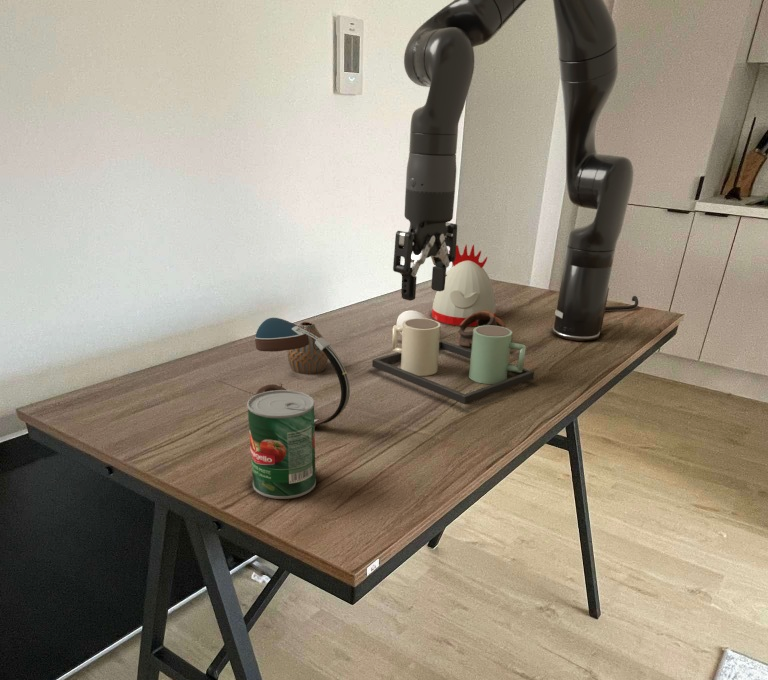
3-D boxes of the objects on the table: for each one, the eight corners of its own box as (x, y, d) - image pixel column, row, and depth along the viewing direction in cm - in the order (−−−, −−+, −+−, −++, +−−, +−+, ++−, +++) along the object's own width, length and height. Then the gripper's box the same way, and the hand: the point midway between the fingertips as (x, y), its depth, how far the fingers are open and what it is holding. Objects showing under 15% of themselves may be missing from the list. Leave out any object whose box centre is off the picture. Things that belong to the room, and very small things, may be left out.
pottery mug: (515, 361, 132) (500, 325, 127) (468, 377, 135) (451, 344, 130) (512, 326, 140) (498, 291, 135) (468, 343, 144) (452, 310, 139)
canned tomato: (240, 491, 87) (233, 408, 81) (271, 464, 93) (267, 385, 87) (298, 504, 84) (295, 420, 79) (326, 476, 91) (325, 396, 85)
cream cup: (444, 369, 123) (448, 323, 119) (423, 378, 118) (426, 331, 114) (402, 357, 127) (404, 312, 123) (381, 366, 123) (382, 320, 119)
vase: (335, 371, 123) (335, 321, 119) (316, 383, 118) (314, 332, 113) (301, 364, 126) (299, 315, 121) (280, 376, 120) (278, 325, 116)
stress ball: (429, 360, 139) (447, 330, 138) (403, 342, 134) (422, 311, 133) (407, 347, 145) (425, 318, 143) (382, 330, 139) (399, 300, 138)
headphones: (204, 406, 106) (333, 449, 100) (202, 306, 98) (342, 347, 91) (228, 393, 111) (353, 433, 104) (229, 297, 103) (364, 335, 96)
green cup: (463, 379, 119) (467, 332, 114) (476, 368, 124) (481, 322, 119) (514, 390, 115) (521, 342, 111) (526, 378, 120) (533, 331, 116)
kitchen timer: (434, 306, 161) (439, 236, 153) (495, 310, 160) (502, 240, 152) (429, 323, 149) (434, 249, 142) (494, 327, 148) (503, 253, 140)
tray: (440, 351, 134) (441, 340, 133) (532, 384, 121) (534, 371, 119) (371, 372, 124) (372, 359, 122) (464, 410, 110) (465, 396, 109)
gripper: (424, 192, 100) (417, 307, 109) (475, 185, 110) (465, 291, 118) (382, 187, 104) (378, 298, 112) (435, 181, 114) (428, 283, 122)
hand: (423, 294), depth 115 cm, fingers open, 8 cm apart
